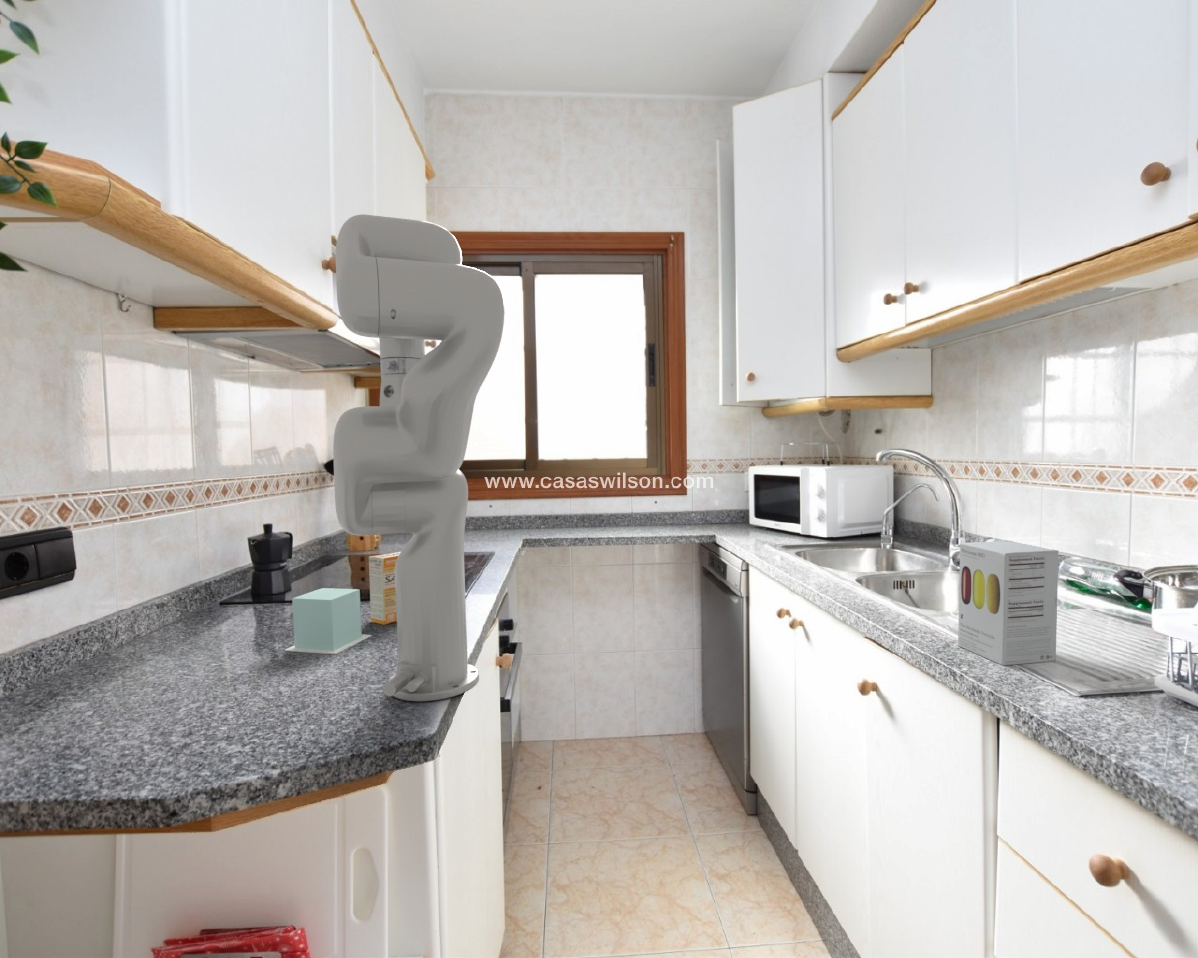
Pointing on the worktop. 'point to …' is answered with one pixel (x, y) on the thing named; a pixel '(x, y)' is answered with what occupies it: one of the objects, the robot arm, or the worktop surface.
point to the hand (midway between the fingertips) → (407, 468)
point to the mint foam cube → (326, 618)
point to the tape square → (329, 650)
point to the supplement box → (383, 588)
